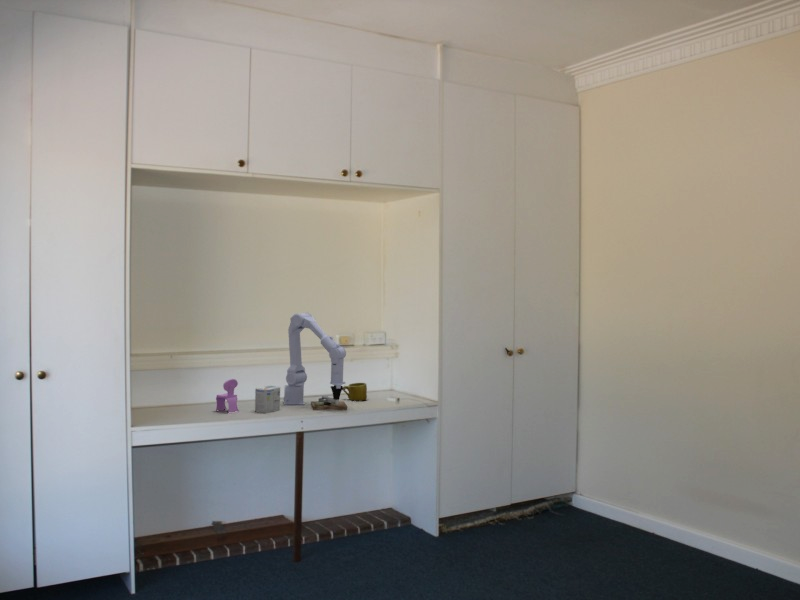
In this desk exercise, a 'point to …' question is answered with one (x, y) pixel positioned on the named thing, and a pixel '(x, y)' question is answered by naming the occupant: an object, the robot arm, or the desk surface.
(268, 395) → the light bulb box
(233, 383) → the toy chair
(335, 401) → the grey lever handle
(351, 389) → the mug
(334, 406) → the base
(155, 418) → the desk surface
